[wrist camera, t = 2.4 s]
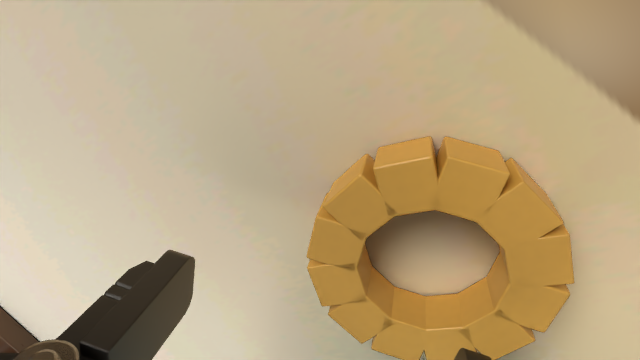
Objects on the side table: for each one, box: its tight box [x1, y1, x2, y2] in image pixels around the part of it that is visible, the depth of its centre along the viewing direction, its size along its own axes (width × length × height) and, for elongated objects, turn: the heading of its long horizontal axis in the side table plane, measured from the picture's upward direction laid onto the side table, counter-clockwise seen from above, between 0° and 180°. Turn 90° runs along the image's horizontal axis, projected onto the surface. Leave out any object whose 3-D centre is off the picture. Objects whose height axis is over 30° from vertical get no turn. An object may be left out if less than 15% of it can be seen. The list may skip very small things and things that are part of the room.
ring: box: [307, 137, 574, 360], centre depth 16 cm, size 9×9×2 cm
